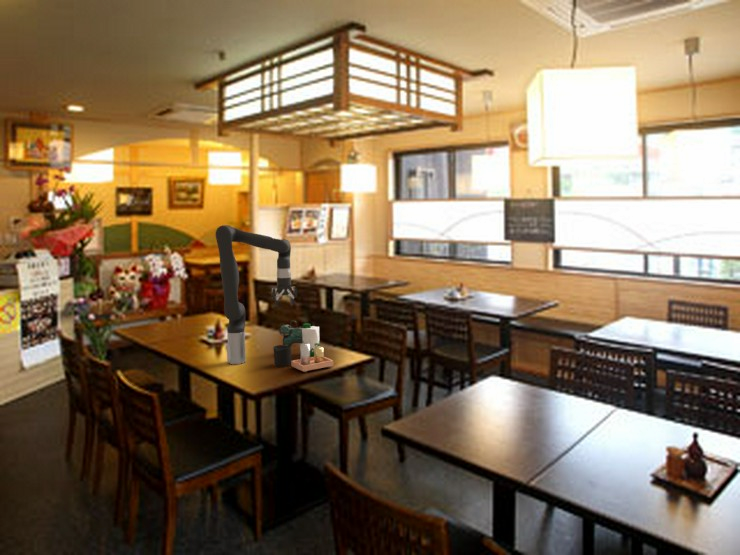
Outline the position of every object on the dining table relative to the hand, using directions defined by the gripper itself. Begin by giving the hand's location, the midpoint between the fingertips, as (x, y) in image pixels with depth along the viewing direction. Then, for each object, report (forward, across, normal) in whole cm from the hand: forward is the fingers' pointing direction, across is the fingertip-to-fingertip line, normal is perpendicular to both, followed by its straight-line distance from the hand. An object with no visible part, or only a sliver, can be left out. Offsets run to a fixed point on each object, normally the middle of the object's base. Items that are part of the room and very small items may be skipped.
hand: (284, 306), depth 293 cm
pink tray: (+31, -7, +19) cm, 37 cm away
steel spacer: (+28, -2, +19) cm, 34 cm away
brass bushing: (+28, -11, +19) cm, 36 cm away
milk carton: (+31, -14, +3) cm, 34 cm away
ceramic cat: (+31, -13, -12) cm, 36 cm away
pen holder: (+31, +4, +4) cm, 32 cm away
